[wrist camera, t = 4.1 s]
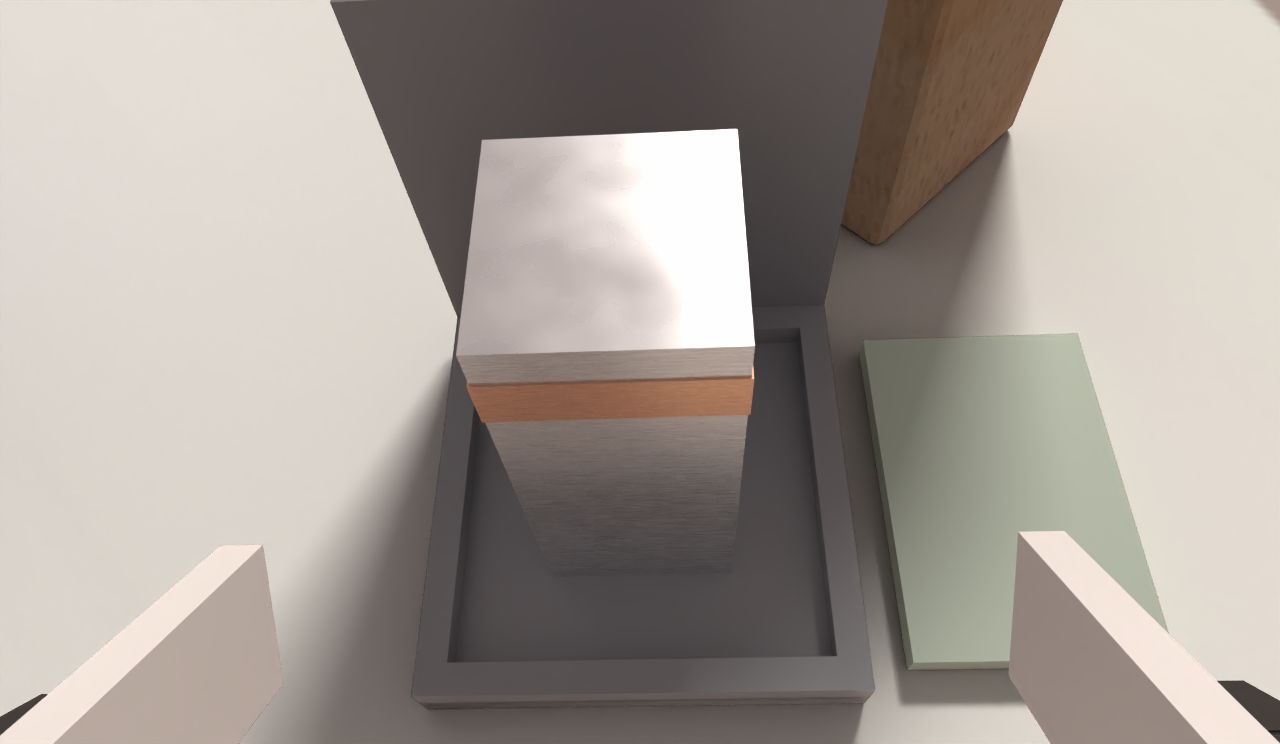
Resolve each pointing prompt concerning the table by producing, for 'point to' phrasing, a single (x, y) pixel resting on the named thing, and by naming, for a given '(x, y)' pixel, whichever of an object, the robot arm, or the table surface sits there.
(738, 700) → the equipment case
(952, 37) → the wooden block
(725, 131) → the block
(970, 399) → the sage board
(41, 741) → the robot arm
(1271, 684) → the table surface
